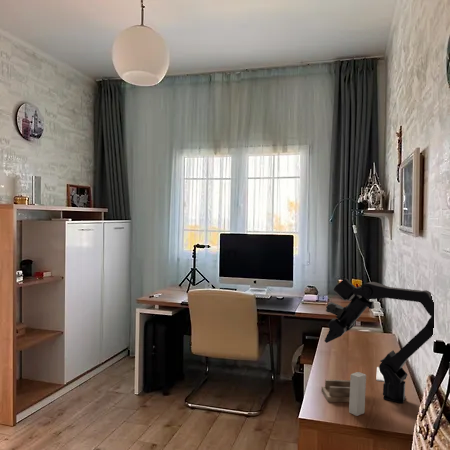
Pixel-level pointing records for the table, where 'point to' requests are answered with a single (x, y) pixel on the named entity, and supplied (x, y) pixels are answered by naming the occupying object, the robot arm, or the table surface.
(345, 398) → the beige rail channel
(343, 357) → the table surface
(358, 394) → the beige rectangular block
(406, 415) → the table surface
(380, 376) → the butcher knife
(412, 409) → the table surface
